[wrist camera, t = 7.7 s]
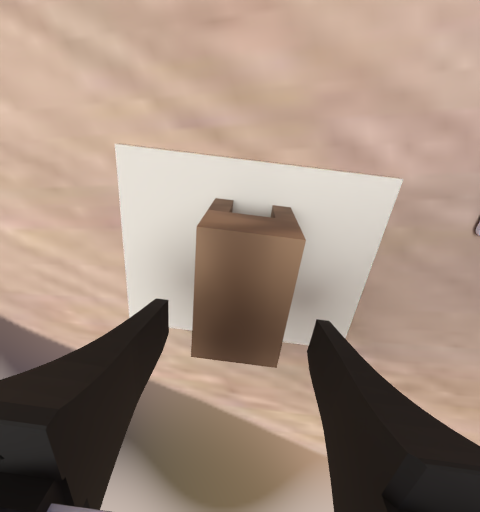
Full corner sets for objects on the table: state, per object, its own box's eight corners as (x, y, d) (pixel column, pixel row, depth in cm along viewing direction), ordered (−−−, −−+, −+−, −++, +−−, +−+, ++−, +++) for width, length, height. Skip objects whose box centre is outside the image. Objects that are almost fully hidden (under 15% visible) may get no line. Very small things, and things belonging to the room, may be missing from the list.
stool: (290, 207, 17) (306, 240, 12) (271, 306, 21) (276, 367, 15) (215, 198, 17) (196, 226, 12) (208, 298, 21) (191, 356, 15)
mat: (398, 177, 17) (403, 179, 16) (339, 344, 23) (341, 349, 22) (119, 143, 17) (114, 144, 16) (132, 318, 23) (129, 322, 22)
